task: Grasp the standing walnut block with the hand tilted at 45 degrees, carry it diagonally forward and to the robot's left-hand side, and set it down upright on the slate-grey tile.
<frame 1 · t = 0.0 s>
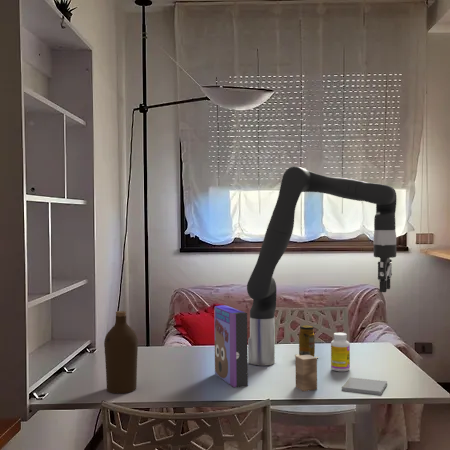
hand: (385, 290, 195), 29 cm above the table, tool pointing down, fingers open, 8 cm apart
walnut block: (306, 388, 182), on the table
olive oil: (122, 389, 183), on the table
supplement bottle: (340, 370, 204), on the table
cereal box: (230, 380, 192), on the table
condiment: (307, 357, 222), on the table
slate tile: (364, 387, 183), on the table
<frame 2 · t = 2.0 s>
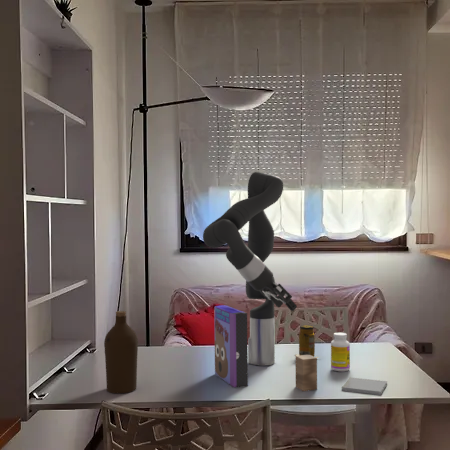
hand: (287, 307, 178), 27 cm above the table, tool tilted 45°, fingers open, 8 cm apart
nothing on the table moved.
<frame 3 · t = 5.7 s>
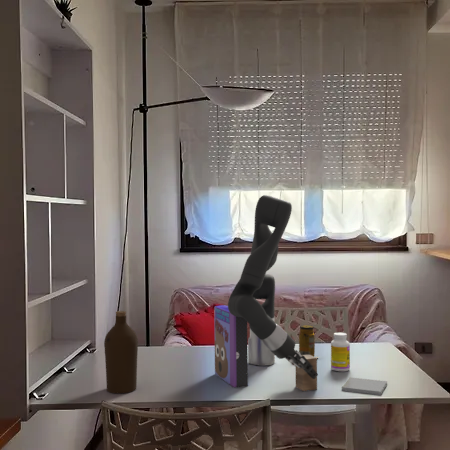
hand: (311, 374, 183), 4 cm above the table, tool tilted 45°, fingers closed on walnut block, 5 cm apart
walnut block: (306, 388, 182), on the table, touching gripper
everything else where it was.
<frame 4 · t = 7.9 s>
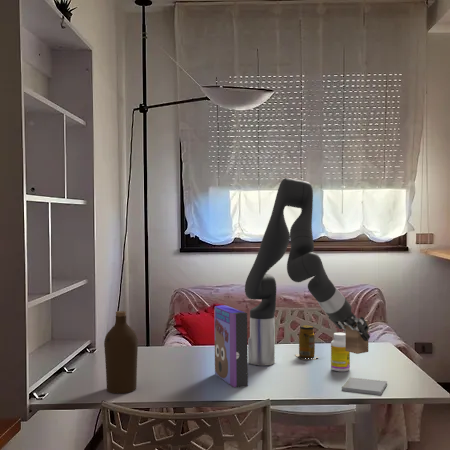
hand: (361, 337, 182), 16 cm above the table, tool tilted 45°, fingers closed on walnut block, 5 cm apart
walnut block: (356, 351, 181), point 12 cm above the table, touching gripper
everything else where it was.
when the fingers open (6 cm above the table, at t = 10.4 s): walnut block stays where it is, resting on slate tile.
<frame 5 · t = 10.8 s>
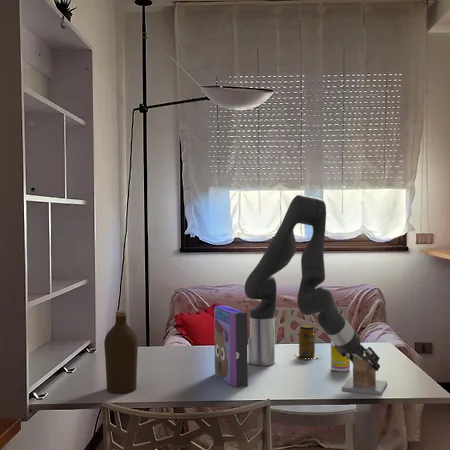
hand: (367, 366, 183), 7 cm above the table, tool tilted 45°, fingers open, 8 cm apart
walnut block: (364, 384, 182), point 1 cm above the table, touching slate tile
everything else where it was.
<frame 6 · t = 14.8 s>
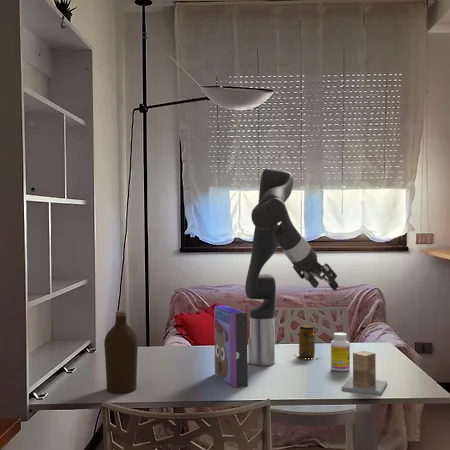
hand: (326, 287, 179), 33 cm above the table, tool tilted 45°, fingers open, 8 cm apart
nothing on the table moved.
at the end: walnut block inside the target area on the slate tile (0.2 cm from its centre), point 1.0 cm above the slate tile's base; walnut block tilted 0°; the gripper is holding nothing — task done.
